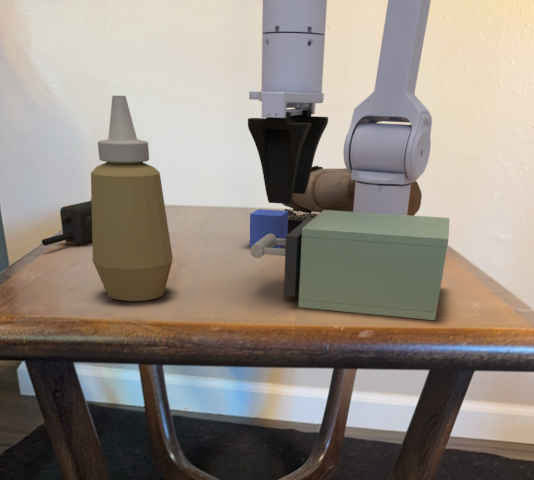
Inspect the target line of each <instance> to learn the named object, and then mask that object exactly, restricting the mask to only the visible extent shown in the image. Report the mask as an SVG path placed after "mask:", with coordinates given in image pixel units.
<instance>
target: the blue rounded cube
mask: <svg viewBox="0 0 534 480" xmlns="http://www.w3.org/2000/svg"><path fill="white" fill-rule="evenodd" d="M267 234H274V235H275V236H276V238H281V239H286V236H287V235H288V211H285V210H278V209H263V208H258V209H256V210H255V211H252V212H251V213H249V248H250V249H251V247H252V246H253V245H254V244H255V243H257V242H258V241H259V240H261V239H262V238H263V237H265V236H266V235H267ZM284 247H286V245H275V246H273V247H272V248H281V249H284Z"/></svg>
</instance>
